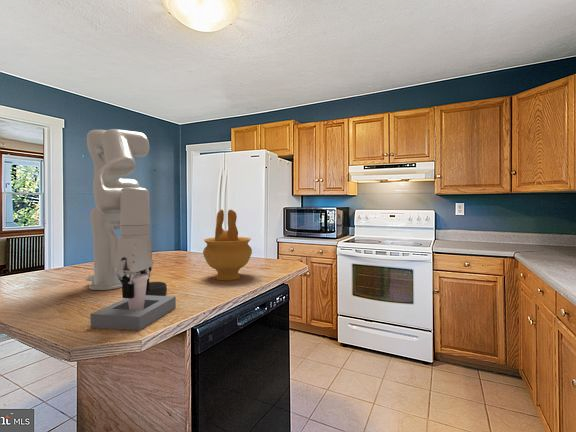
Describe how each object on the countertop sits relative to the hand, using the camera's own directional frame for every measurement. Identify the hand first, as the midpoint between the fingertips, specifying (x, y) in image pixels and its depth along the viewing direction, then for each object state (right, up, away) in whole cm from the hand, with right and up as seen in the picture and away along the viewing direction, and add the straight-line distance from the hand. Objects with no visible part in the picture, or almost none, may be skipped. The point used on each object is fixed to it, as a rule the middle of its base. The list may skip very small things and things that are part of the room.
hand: (136, 293), depth 90 cm
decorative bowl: (+17, -5, +49) cm, 52 cm away
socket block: (0, -7, 0) cm, 7 cm away
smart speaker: (-5, -6, +22) cm, 23 cm away
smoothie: (0, -5, 0) cm, 5 cm away
